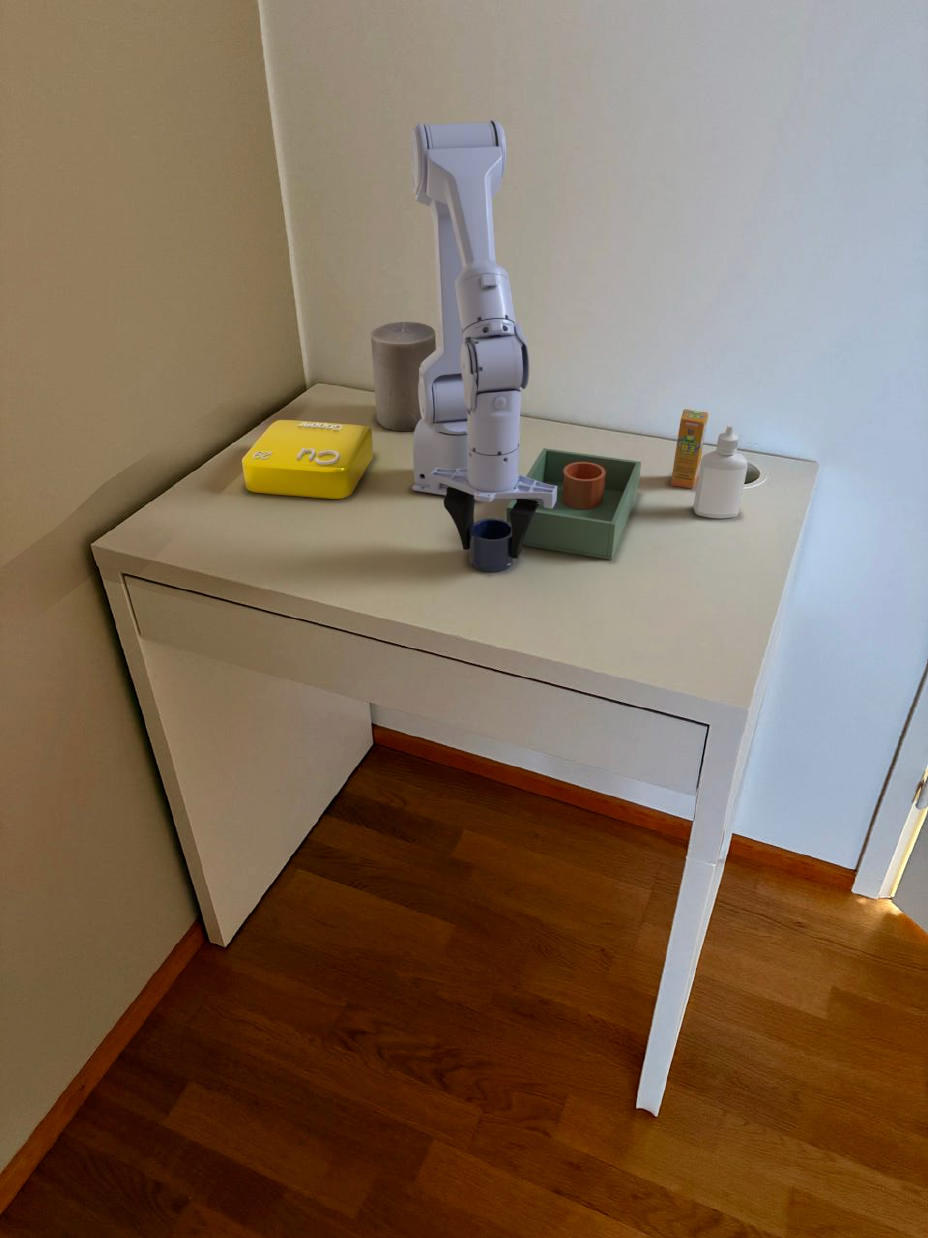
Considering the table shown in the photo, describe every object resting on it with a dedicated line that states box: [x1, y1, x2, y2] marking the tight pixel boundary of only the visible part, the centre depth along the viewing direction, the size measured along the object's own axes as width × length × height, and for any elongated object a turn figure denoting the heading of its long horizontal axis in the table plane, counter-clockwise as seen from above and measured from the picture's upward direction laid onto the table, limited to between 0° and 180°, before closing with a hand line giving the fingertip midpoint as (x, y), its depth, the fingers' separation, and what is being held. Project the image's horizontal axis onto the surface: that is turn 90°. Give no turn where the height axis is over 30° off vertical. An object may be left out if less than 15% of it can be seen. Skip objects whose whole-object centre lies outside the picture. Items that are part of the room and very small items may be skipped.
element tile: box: [241, 419, 374, 500], centre depth 127 cm, size 15×15×5 cm
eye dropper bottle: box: [693, 424, 748, 519], centre depth 115 cm, size 4×6×12 cm
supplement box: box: [670, 408, 709, 489], centre depth 122 cm, size 3×3×10 cm
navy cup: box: [468, 517, 516, 573], centre depth 108 cm, size 5×5×4 cm
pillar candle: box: [369, 321, 437, 432], centre depth 139 cm, size 10×10×15 cm
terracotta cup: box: [562, 462, 606, 510], centre depth 119 cm, size 5×5×4 cm
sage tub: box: [505, 447, 642, 561], centre depth 116 cm, size 13×17×5 cm
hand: (491, 549), depth 109 cm, fingers closed on navy cup, 5 cm apart
